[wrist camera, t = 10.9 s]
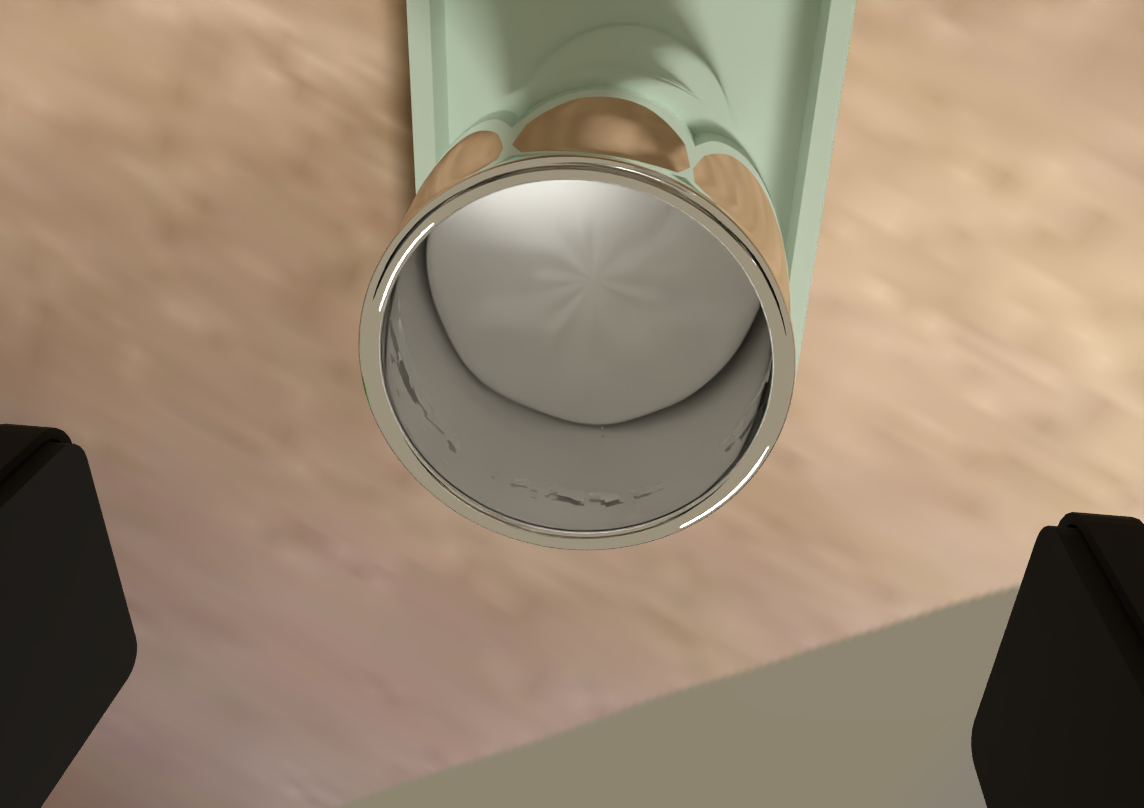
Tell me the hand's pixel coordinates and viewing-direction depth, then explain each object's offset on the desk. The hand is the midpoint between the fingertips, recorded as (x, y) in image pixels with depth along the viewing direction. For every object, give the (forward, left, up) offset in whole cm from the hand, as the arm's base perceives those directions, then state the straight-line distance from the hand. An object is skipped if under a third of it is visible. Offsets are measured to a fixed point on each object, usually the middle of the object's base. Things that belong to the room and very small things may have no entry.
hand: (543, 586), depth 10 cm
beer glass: (0, 0, -20) cm, 20 cm away
